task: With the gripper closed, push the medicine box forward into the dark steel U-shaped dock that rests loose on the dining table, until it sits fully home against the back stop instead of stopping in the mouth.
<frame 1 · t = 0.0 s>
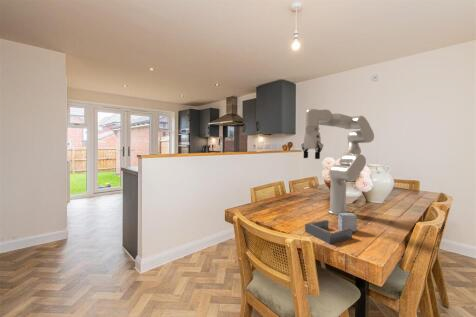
hand: (311, 158, 137), 37 cm above the table, tool pointing down, fingers open, 9 cm apart
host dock: (327, 234, 113), on the table
medicine box: (347, 230, 119), on the table
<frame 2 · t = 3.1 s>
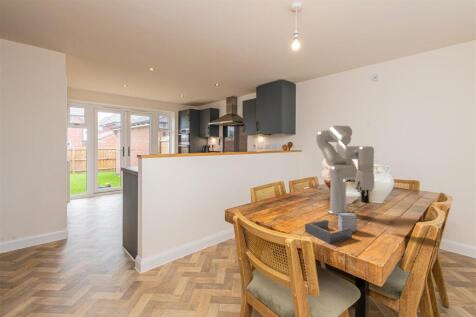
hand: (364, 202, 123), 14 cm above the table, tool pointing down, fingers closed
nothing on the table moved.
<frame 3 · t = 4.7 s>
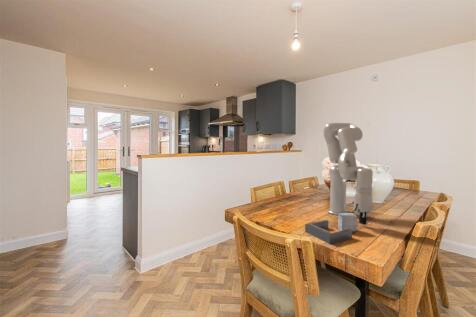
hand: (362, 223, 125), 2 cm above the table, tool pointing down, fingers closed
nothing on the table moved.
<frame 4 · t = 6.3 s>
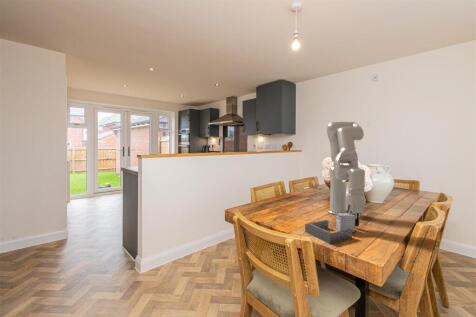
hand: (355, 225, 122), 2 cm above the table, tool pointing down, fingers closed
medicine box: (345, 231, 119), on the table, touching gripper
everything else where it was.
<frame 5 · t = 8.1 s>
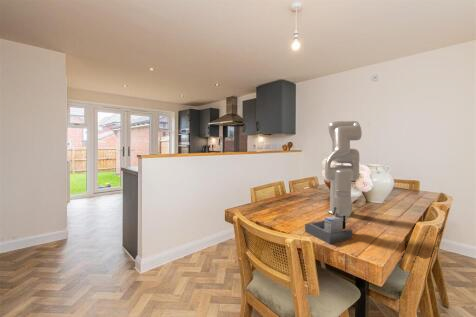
hand: (341, 228, 117), 2 cm above the table, tool pointing down, fingers closed
medicine box: (333, 235, 113), on the table, touching gripper
everything else where it was.
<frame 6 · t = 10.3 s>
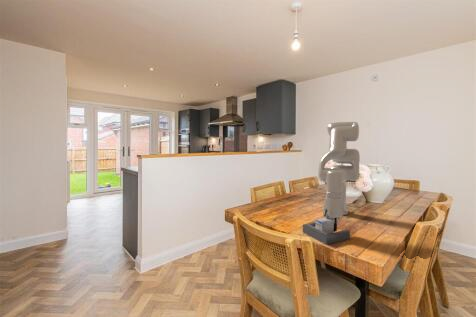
hand: (333, 230, 115), 2 cm above the table, tool pointing down, fingers closed
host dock: (325, 235, 112), on the table, touching medicine box
medicine box: (324, 237, 111), on the table, touching gripper, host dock
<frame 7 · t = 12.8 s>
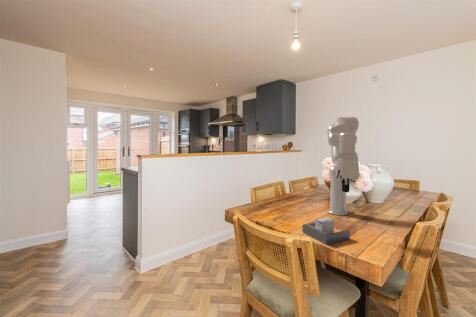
hand: (345, 191, 117), 21 cm above the table, tool pointing down, fingers closed
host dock: (325, 235, 112), on the table
medicine box: (324, 237, 111), on the table
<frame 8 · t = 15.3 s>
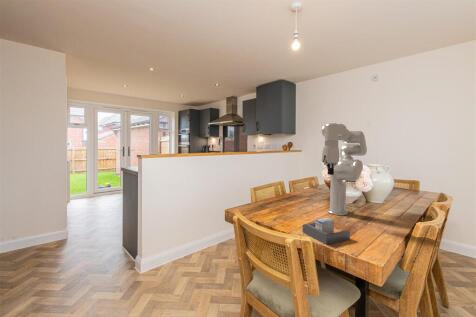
hand: (330, 174, 137), 27 cm above the table, tool pointing down, fingers closed
nothing on the table moved.
at the end: medicine box 1.3 cm from the target spot on the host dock, point 0.0 cm above the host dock's base; medicine box tilted 0°; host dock moved 1.9 cm from its start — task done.
